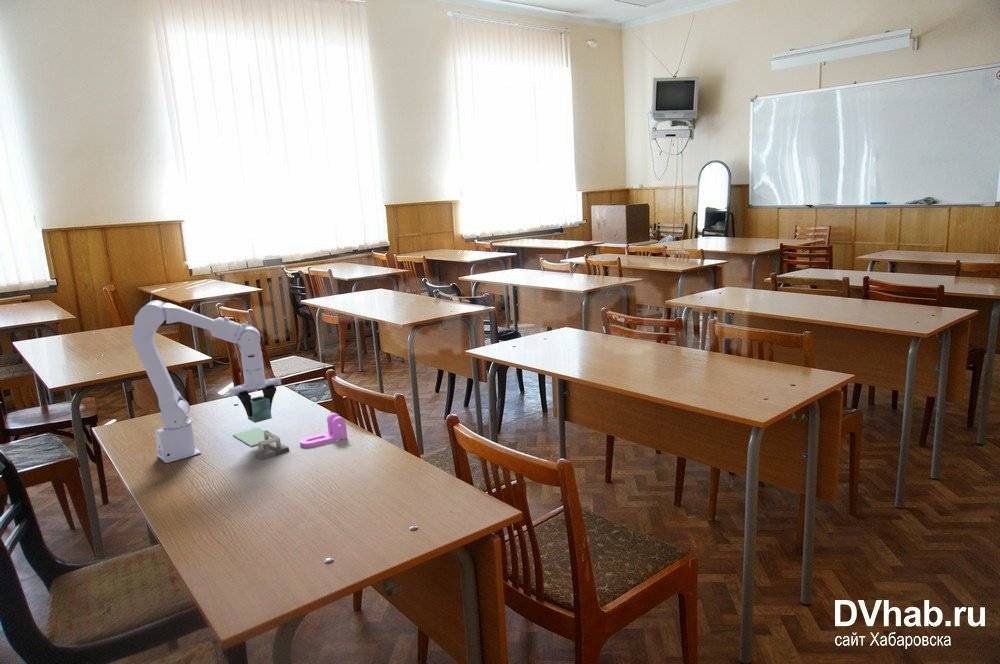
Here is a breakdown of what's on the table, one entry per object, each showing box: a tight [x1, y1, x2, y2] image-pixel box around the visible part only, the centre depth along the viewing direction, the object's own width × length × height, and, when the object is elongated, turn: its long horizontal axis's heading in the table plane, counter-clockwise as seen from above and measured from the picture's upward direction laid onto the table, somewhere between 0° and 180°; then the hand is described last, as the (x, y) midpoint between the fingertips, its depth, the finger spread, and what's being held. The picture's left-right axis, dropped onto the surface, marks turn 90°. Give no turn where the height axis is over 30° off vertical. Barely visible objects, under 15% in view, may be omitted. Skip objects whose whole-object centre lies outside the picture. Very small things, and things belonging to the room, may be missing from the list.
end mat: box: [232, 427, 271, 448], centre depth 201 cm, size 8×14×1 cm, turn 42°
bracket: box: [299, 412, 348, 449], centre depth 195 cm, size 13×6×7 cm, turn 122°
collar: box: [247, 395, 273, 424], centre depth 195 cm, size 5×5×6 cm
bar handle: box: [255, 429, 290, 460], centre depth 190 cm, size 8×12×4 cm
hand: (259, 413), depth 195 cm, fingers closed on collar, 5 cm apart
